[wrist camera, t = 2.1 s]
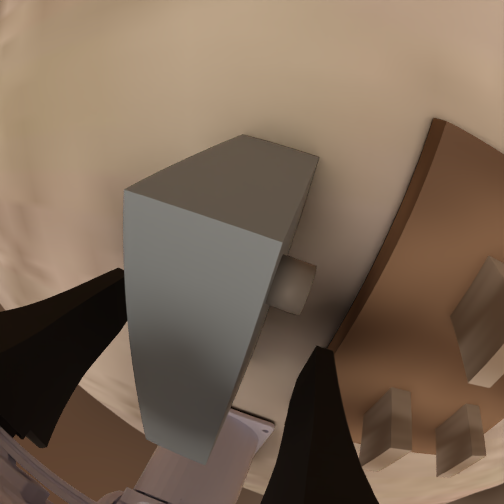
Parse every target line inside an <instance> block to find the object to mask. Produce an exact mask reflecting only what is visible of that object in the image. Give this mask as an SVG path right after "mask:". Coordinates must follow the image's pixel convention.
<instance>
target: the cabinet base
mask: <svg viewBox="0 0 504 504" xmlns="http://www.w3.org/2000/svg"><path fill="white" fill-rule="evenodd" d="M327 349H328V350H332V351H333V352H334V356H335V364H336V371H337V377H338V382H339V388H340V393H341V398H342V402H343V407H344V411H345V415H346V419H347V423H348V427H349V430H350V434H351V437H352V440H353V442H354V443H359V444H361V447H360V456H359V461H360V463H361V466H362V468H363V470H366V471H373V472H379V471H380V470H382V469H384V468H385V467H387V466H389V465H390V464H392V463H394V462H395V461H397V460H399V459H400V458H402V457H403V456H405V455H406V454H408V453H409V452H415V453H424V454H434V455H436V464H437V477H452V476H454V475H456V474H458V473H459V472H461V471H463V470H464V469H466V468H468V467H469V466H471V465H473V464H474V463H476V462H478V461H479V460H481V459H482V458H484V457H485V456H486V449H485V441H484V433H486V432H487V431H488V430H490V429H491V428H492V427H493V426H495V425H496V424H497V423H498V422H500V421H501V420H502V419H503V418H504V154H502V153H501V152H499V151H497V150H496V149H494V148H493V147H491V146H490V145H488V144H486V143H485V142H483V141H481V140H480V139H478V138H476V137H475V136H473V135H471V134H469V133H468V132H466V131H464V130H462V129H460V128H459V127H457V126H455V125H453V124H451V123H449V122H447V121H444V120H440V119H437V118H434V119H433V122H432V125H431V128H430V131H429V134H428V137H427V140H426V142H425V145H424V148H423V151H422V154H421V156H420V159H419V162H418V164H417V167H416V170H415V172H414V175H413V177H412V180H411V182H410V185H409V187H408V190H407V192H406V195H405V197H404V199H403V202H402V204H401V207H400V209H399V211H398V213H397V216H396V218H395V220H394V222H393V225H392V227H391V229H390V231H389V233H388V236H387V238H386V240H385V242H384V244H383V246H382V248H381V250H380V253H379V255H378V257H377V259H376V261H375V263H374V265H373V267H372V269H371V271H370V273H369V275H368V277H367V278H366V280H365V282H364V284H363V286H362V288H361V290H360V292H359V294H358V296H357V297H356V299H355V301H354V303H353V305H352V307H351V308H350V310H349V312H348V314H347V315H346V317H345V319H344V321H343V323H342V324H341V326H340V328H339V329H338V331H337V333H336V335H335V336H334V338H333V340H332V341H331V343H330V345H329V346H328V348H327ZM286 418H287V417H286ZM285 422H286V421H285ZM284 425H285V424H284Z"/></svg>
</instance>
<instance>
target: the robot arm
mask: <svg viewBox="0 0 504 504" xmlns="http://www.w3.org/2000/svg"><path fill="white" fill-rule="evenodd" d="M126 322H127V308H126V295H125V277H124V270H122V269H120V268H117V269H115V270H112V271H110V272H107V273H105V274H103V275H101V276H99V277H96V278H94V279H92V280H90V281H88V282H85V283H83V284H81V285H79V286H76V287H74V288H72V289H70V290H67V291H65V292H62V293H60V294H57V295H55V296H53V297H50V298H48V299H45V300H42V301H39V302H36V303H33V304H30V305H27V306H23V307H20V308H15V309H11V310H7V311H3V312H0V504H53V503H52V502H50V501H49V500H47V498H48V496H49V492H48V491H47V490H46V489H44V488H43V487H42V486H41V485H40V484H39V483H38V482H37V481H35V480H34V479H33V478H32V477H30V476H29V475H28V474H26V473H25V472H24V471H22V470H21V469H19V468H18V467H17V466H16V461H17V462H18V463H19V464H20V465H21V466H22V467H23V468H25V469H26V470H27V471H28V472H29V473H30V474H32V475H33V476H34V477H35V478H37V480H39V481H40V482H41V483H42V484H44V485H45V486H46V487H47V488H49V489H50V490H51V491H53V492H54V493H55V494H57V495H58V496H59V497H61V498H62V499H63V500H65V501H66V502H68V503H69V504H236V502H237V499H238V497H239V494H240V492H241V489H242V486H243V484H244V481H245V478H246V476H247V473H248V470H249V467H250V464H251V462H252V459H253V456H254V455H255V454H256V452H257V451H258V450H259V449H260V447H261V446H262V445H263V444H264V442H265V441H266V440H267V438H268V437H269V436H270V435H271V433H272V432H273V431H274V428H275V425H274V424H273V423H271V422H268V421H265V420H262V419H259V418H256V417H253V416H250V415H247V414H245V413H242V412H239V411H236V410H234V409H231V408H230V410H229V413H228V415H227V417H226V420H225V422H224V424H223V427H222V429H221V431H220V434H219V436H218V438H217V440H216V443H215V445H214V447H213V450H212V452H211V454H210V456H209V459H208V461H207V463H206V465H203V464H200V463H198V462H195V461H193V460H190V459H188V458H186V457H183V456H181V455H179V454H176V453H174V452H172V451H170V450H168V449H166V448H163V447H161V446H159V445H158V447H157V448H156V450H155V452H154V454H153V455H152V457H151V459H150V461H149V463H148V464H147V466H146V468H145V470H144V471H143V473H142V475H141V477H140V479H139V480H138V482H137V484H136V486H135V487H134V489H133V490H132V489H130V488H128V487H127V488H126V489H125V491H124V492H122V491H116V492H113V493H109V494H107V495H105V496H104V497H102V498H101V499H100V500H99V501H98V502H95V501H93V500H91V499H90V498H89V497H87V496H85V495H84V494H82V493H81V492H79V491H78V490H76V489H75V488H73V487H72V486H70V485H69V484H67V483H66V482H65V481H64V480H62V479H61V478H60V477H58V476H57V475H56V474H54V473H53V472H51V471H50V470H49V469H48V468H46V467H45V466H44V465H43V464H41V463H40V462H39V461H38V460H37V459H35V458H34V457H33V456H32V455H31V454H29V453H28V452H27V451H26V450H25V449H24V448H23V447H21V446H20V445H19V444H18V443H17V442H16V441H15V440H14V439H13V437H14V436H15V435H17V436H19V437H20V438H21V439H24V438H25V436H26V437H27V438H28V439H30V440H31V441H32V442H33V443H34V444H35V445H36V446H38V447H39V448H45V447H47V446H48V443H49V440H50V438H51V435H52V433H53V431H54V428H55V426H56V424H57V422H58V419H59V417H60V415H61V413H62V411H63V409H64V407H65V405H66V404H67V402H68V400H69V399H70V397H71V395H72V393H73V392H74V390H75V388H76V386H77V385H78V384H79V382H80V380H81V379H82V377H83V376H84V374H85V373H86V372H87V370H88V369H89V368H90V367H91V365H92V364H93V363H94V362H95V361H96V359H97V358H98V357H99V356H100V355H101V353H102V352H103V351H104V350H105V349H106V348H107V346H108V345H109V344H110V343H111V342H112V340H113V339H114V338H115V337H116V336H117V334H118V333H119V332H120V331H121V329H122V328H123V326H124V325H125V323H126ZM261 504H379V502H378V501H377V499H376V497H375V495H374V493H373V491H372V488H371V486H370V484H369V482H368V480H367V478H366V475H365V473H364V471H363V468H362V466H361V463H360V461H359V458H358V455H357V452H356V450H355V447H354V444H353V440H352V437H351V434H350V430H349V427H348V423H347V419H346V415H345V411H344V407H343V402H342V398H341V393H340V388H339V382H338V377H337V371H336V364H335V356H334V352H333V351H332V350H328V349H325V348H322V347H319V346H316V347H315V349H314V351H313V353H312V354H311V356H310V358H309V359H308V361H307V363H306V364H305V366H304V368H303V369H302V371H301V373H300V374H299V376H298V378H297V381H296V384H295V387H294V390H293V393H292V396H291V400H290V403H289V408H288V413H287V418H286V422H285V427H284V432H283V436H282V441H281V446H280V450H279V454H278V458H277V461H276V465H275V467H274V470H273V473H272V476H271V478H270V481H269V484H268V486H267V489H266V491H265V494H264V496H263V499H262V501H261Z"/></svg>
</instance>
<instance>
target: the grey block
mask: <svg viewBox="0 0 504 504" xmlns="http://www.w3.org/2000/svg"><path fill="white" fill-rule="evenodd" d="M318 159H319V157H317V156H314V155H311V154H308V153H305V152H302V151H298V150H295V149H292V148H289V147H285V146H282V145H279V144H275V143H272V142H268V141H265V140H261V139H257V138H254V137H250V136H246V135H240V136H237V137H235V138H233V139H230V140H228V141H225V142H223V143H220V144H218V145H216V146H213V147H211V148H209V149H206V150H204V151H202V152H200V153H197V154H195V155H193V156H191V157H189V158H186V159H184V160H182V161H180V162H178V163H176V164H174V165H171V166H169V167H167V168H165V169H163V170H161V171H159V172H157V173H155V174H153V175H151V176H149V177H147V178H145V179H143V180H141V181H139V182H137V183H135V184H133V185H132V186H130V187H128V188H126V189H124V206H123V249H124V277H125V295H126V308H127V320H128V330H129V340H130V348H131V356H132V364H133V371H134V377H135V384H136V390H137V396H138V402H139V407H140V412H141V417H142V422H143V427H144V432H145V436H146V439H147V440H149V441H151V442H153V443H155V444H157V445H159V446H161V447H163V448H166V449H168V450H170V451H172V452H174V453H176V454H179V455H181V456H183V457H186V458H188V459H190V460H193V461H195V462H198V463H200V464H203V465H206V463H207V461H208V459H209V456H210V454H211V452H212V450H213V447H214V445H215V443H216V440H217V438H218V436H219V434H220V431H221V429H222V427H223V424H224V422H225V420H226V417H227V415H228V413H229V410H230V408H231V406H232V403H233V401H234V398H235V396H236V394H237V391H238V389H239V386H240V384H241V382H242V379H243V377H244V374H245V372H246V369H247V367H248V364H249V362H250V359H251V357H252V354H253V351H254V349H255V346H256V343H257V340H258V338H259V335H260V332H261V329H262V327H263V324H264V321H265V318H266V316H267V313H268V310H269V307H270V306H273V307H275V308H278V309H281V310H284V311H287V312H290V313H292V314H295V315H298V316H299V315H300V313H301V311H302V309H303V307H304V305H305V302H306V300H307V297H308V294H309V292H310V289H311V286H312V283H313V280H314V276H315V272H316V266H315V265H312V264H309V263H307V262H304V261H301V260H298V259H295V258H292V257H290V256H287V255H288V252H289V249H290V246H291V243H292V240H293V237H294V234H295V231H296V228H297V225H298V222H299V219H300V216H301V213H302V210H303V207H304V204H305V201H306V198H307V195H308V191H309V188H310V185H311V182H312V179H313V176H314V172H315V169H316V166H317V163H318Z"/></svg>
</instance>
